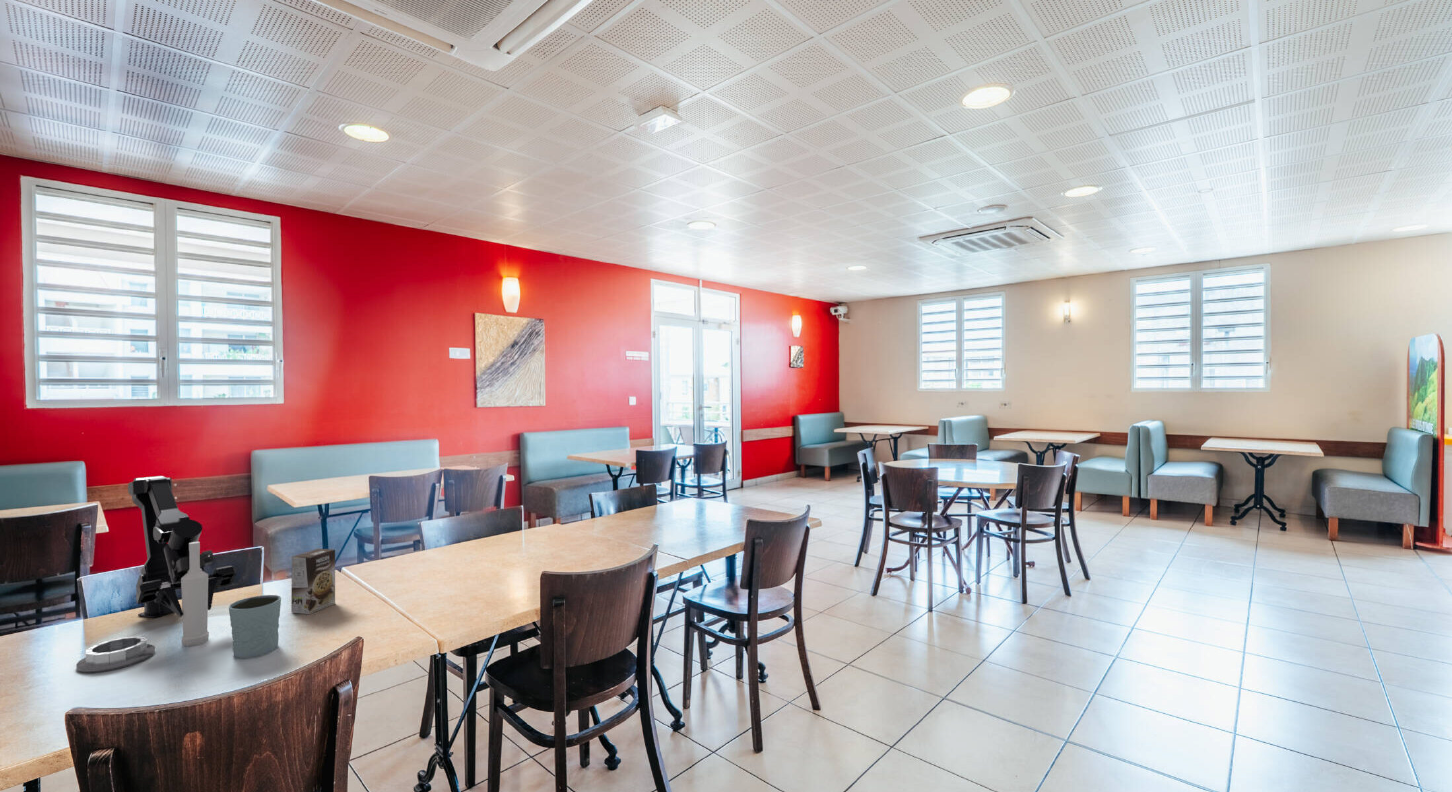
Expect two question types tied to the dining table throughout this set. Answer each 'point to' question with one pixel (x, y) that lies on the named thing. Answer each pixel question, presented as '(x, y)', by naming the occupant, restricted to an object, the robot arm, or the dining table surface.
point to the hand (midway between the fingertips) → (195, 612)
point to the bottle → (194, 600)
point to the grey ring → (115, 654)
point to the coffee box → (313, 581)
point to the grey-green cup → (255, 625)
